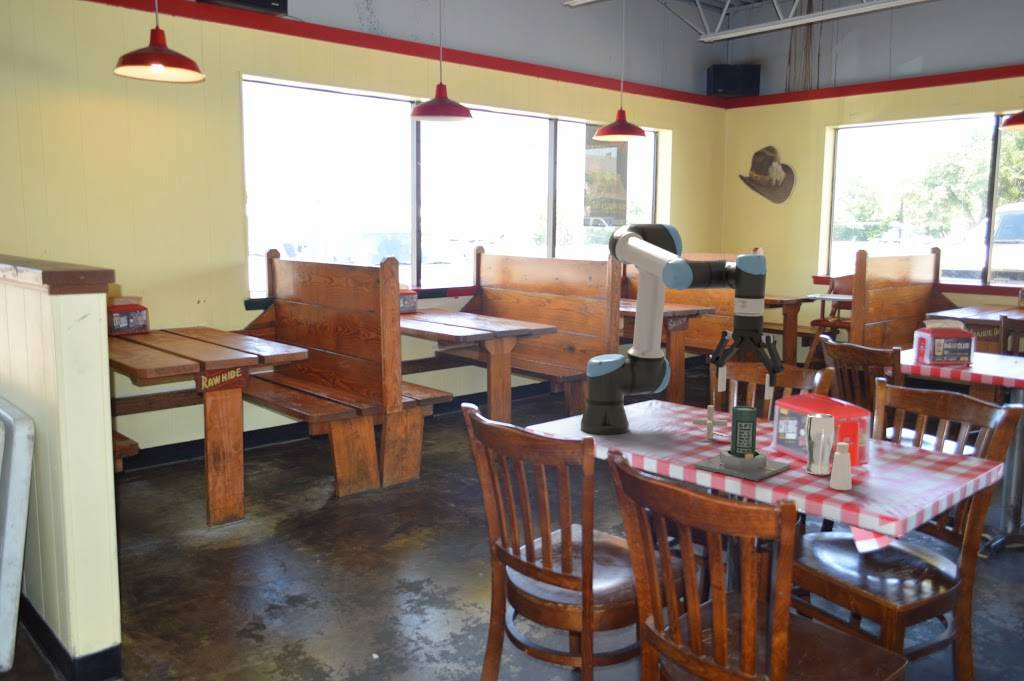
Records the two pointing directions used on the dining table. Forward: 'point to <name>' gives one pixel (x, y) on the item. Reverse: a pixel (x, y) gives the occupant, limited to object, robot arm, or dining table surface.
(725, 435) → the butter knife
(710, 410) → the pipe connector
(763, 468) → the collar
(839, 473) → the pepper shaker
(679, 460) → the dining table surface
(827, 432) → the beer glass
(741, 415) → the can
